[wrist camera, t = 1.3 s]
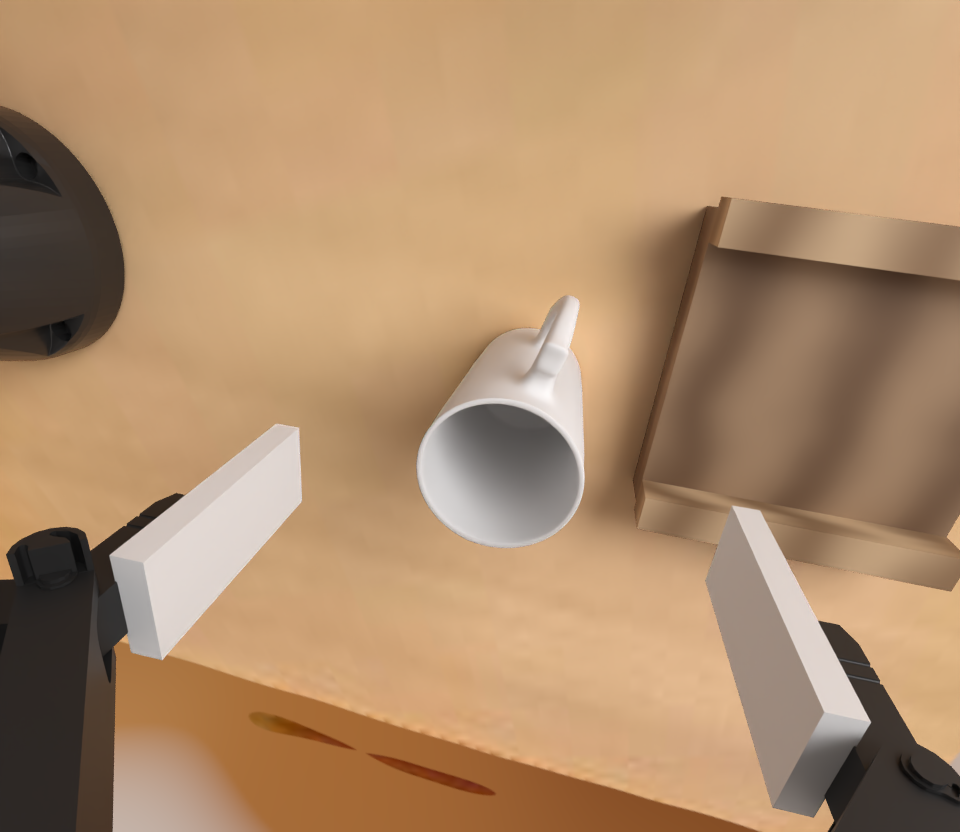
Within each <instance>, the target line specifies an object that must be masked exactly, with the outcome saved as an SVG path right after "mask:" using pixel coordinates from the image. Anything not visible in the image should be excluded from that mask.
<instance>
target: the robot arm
mask: <svg viewBox="0 0 960 832" xmlns="http://www.w3.org/2000/svg"><path fill="white" fill-rule="evenodd" d="M123 290H124V261H123V254H122V248H121V243H120V239H119V236H118V232H117V229H116V226H115V223H114V221H113V218H112V215H111V213H110V211H109V208H108V206H107V204H106V202H105V200H104V198H103V196H102V195H101V193H100V191H99V189H98V187H97V186H96V184H95V183H94V181H93V180H92V178H91V177H90V175H89V174H88V172H87V171H86V170H85V168H84V167H83V166H82V165H81V163H80V162H79V161H78V160H77V158H76V157H75V156H74V155H73V154H72V153H71V152H70V151H69V150H68V149H67V148H66V147H65V146H64V145H63V144H62V143H61V142H60V141H59V140H58V139H57V138H56V137H55V136H53V135H52V134H51V133H50V132H48V131H47V130H46V129H45V128H43V127H42V126H40V125H39V124H38V123H36V122H34V121H33V120H31V119H29V118H28V117H26V116H24V115H22V114H20V113H18V112H16V111H13V110H11V109H8V108H6V107H3V106H0V361H34V360H43V359H49V358H53V357H56V356H60V355H63V354H66V353H69V352H72V351H75V350H78V349H81V348H84V347H86V346H88V345H90V344H92V343H93V342H95V341H96V340H98V339H99V338H100V337H101V336H102V335H103V334H104V333H105V332H106V331H107V330H108V329H109V327H110V326H111V324H112V323H113V321H114V319H115V317H116V315H117V313H118V310H119V308H120V304H121V301H122V296H123ZM301 502H302V489H301V464H300V439H299V427H293V426H287V425H282V424H275V425H274V426H272V427H271V428H270V429H269V430H267V431H266V432H265V433H264V434H262V435H261V436H260V437H258V438H257V439H256V440H255V441H253V442H252V443H251V444H250V445H248V446H247V447H246V448H245V449H243V450H242V451H241V452H239V453H238V454H237V455H236V456H234V457H233V458H232V459H231V460H229V461H228V462H227V463H226V464H224V465H223V466H222V467H220V468H219V469H218V470H217V471H215V472H214V473H213V474H212V475H210V476H209V477H208V478H207V479H205V480H204V481H203V482H201V483H200V484H199V485H198V486H196V487H195V488H194V489H193V490H191V491H190V492H189V493H188V494H186V495H182V494H177V493H176V494H173V495H171V496H169V497H166V498H164V499H162V500H159V501H157V502H155V503H154V504H152V505H151V506H150V507H148V508H147V509H146V510H144V511H143V512H142V513H140V516H139V517H138V516H136V517H135V518H134V519H132V520H131V521H130V522H128V523H127V526H123V527H122V528H120V529H119V530H118V531H116V532H115V533H114V534H112V535H111V536H110V537H109V538H107V539H106V540H105V541H103V542H102V543H101V544H99V545H98V546H97V547H95V548H94V549H93V550H91V551H90V549H89V544H88V540H87V537H86V534H85V532H83V531H81V530H79V529H78V528H70V527H60V528H51V529H47V530H43V531H39V532H36V533H34V534H32V535H29V536H27V537H25V538H23V539H21V540H20V541H18V542H17V543H16V544H14V545H13V546H12V547H11V548H10V550H9V551H8V553H7V554H6V556H7V559H8V562H9V565H10V568H11V571H12V574H13V577H14V579H12V580H0V832H112V829H113V781H114V780H113V779H114V778H113V777H114V732H115V731H114V730H115V728H114V727H115V683H116V682H115V681H116V655H115V651H114V646H115V645H116V644H117V643H118V642H119V641H120V640H121V639H122V638H123V637H124V636H125V635H126V634H127V636H128V640H129V645H130V649H131V652H132V653H135V654H140V655H143V656H148V657H152V658H156V659H160V660H163V658H164V657H165V656H166V655H167V654H168V653H169V652H170V651H171V649H172V648H173V647H174V646H175V645H176V644H177V643H178V641H179V640H180V639H181V638H182V637H183V636H184V635H185V634H186V632H187V631H188V630H189V629H190V628H191V627H192V626H193V624H194V623H195V622H196V621H197V620H198V619H199V618H200V616H201V615H202V614H203V613H204V612H205V611H206V610H207V609H208V607H209V606H210V605H211V604H212V603H213V602H214V601H215V599H216V598H217V597H218V596H219V595H220V594H221V593H222V592H223V590H224V589H225V588H226V587H227V586H228V585H229V584H230V582H231V581H232V580H233V579H234V578H235V577H236V576H237V575H238V573H239V572H240V571H241V570H242V569H243V568H244V567H245V565H246V564H247V563H248V562H249V561H250V560H251V559H252V557H253V556H254V555H255V554H256V553H257V552H258V551H259V550H260V548H261V547H262V546H263V545H264V544H265V543H266V542H267V540H268V539H269V538H270V537H271V536H272V535H273V534H274V533H275V531H276V530H277V529H278V528H279V527H280V526H281V525H282V523H283V522H284V521H285V520H286V519H287V518H288V517H289V515H290V514H291V513H292V512H293V511H294V510H295V509H296V508H297V506H298V505H299V504H300V503H301ZM705 581H706V585H707V588H708V591H709V595H710V598H711V602H712V605H713V608H714V612H715V615H716V618H717V622H718V625H719V629H720V632H721V635H722V639H723V642H724V645H725V649H726V652H727V656H728V659H729V662H730V666H731V669H732V672H733V676H734V679H735V683H736V686H737V689H738V693H739V696H740V699H741V703H742V706H743V709H744V713H745V716H746V720H747V723H748V726H749V730H750V733H751V736H752V740H753V743H754V747H755V750H756V753H757V757H758V760H759V763H760V767H761V770H762V774H763V777H764V780H765V784H766V787H767V790H768V794H769V797H770V801H771V804H772V807H773V808H776V809H781V810H785V811H789V812H793V813H797V814H801V815H805V816H810V817H814V816H815V815H816V813H817V811H818V810H819V808H820V806H821V805H822V803H823V801H824V800H825V798H826V801H827V803H828V806H829V809H830V811H831V814H832V816H833V819H834V822H833V824H832V826H831V827H830V829H829V830H828V832H960V776H959V775H958V774H957V773H956V772H955V770H954V769H953V768H952V767H951V766H950V765H949V764H947V763H946V762H945V761H944V760H942V759H941V758H940V757H939V756H937V755H936V754H935V753H933V752H931V751H929V750H928V749H926V748H924V747H922V746H920V745H919V744H917V743H916V741H915V739H914V738H913V736H912V734H911V733H910V731H909V729H908V727H907V726H906V724H905V722H904V721H903V719H902V717H901V716H900V714H899V712H898V710H897V709H896V707H895V705H894V704H893V702H892V700H891V698H890V697H889V695H888V693H887V692H886V690H885V688H884V686H883V685H881V684H880V680H879V678H878V676H877V675H876V673H875V671H874V669H873V668H870V663H869V661H868V659H867V657H866V656H865V654H864V652H863V651H862V649H861V647H860V646H859V644H858V643H857V642H856V641H855V640H854V639H853V638H852V637H851V636H850V635H849V634H848V633H847V632H846V631H845V630H844V629H843V628H842V627H841V626H840V625H837V624H832V623H827V622H822V621H818V620H817V618H816V616H815V614H814V613H813V611H812V609H811V607H810V605H809V603H808V601H807V599H806V597H805V595H804V593H803V592H802V590H801V588H800V586H799V584H798V582H797V580H796V578H795V576H794V574H793V572H792V571H791V569H790V567H789V565H788V563H787V561H786V559H785V557H784V555H783V553H782V551H781V550H780V548H779V546H778V544H777V542H776V540H775V538H774V536H773V534H772V532H771V531H770V529H769V527H768V525H767V523H766V521H765V519H764V517H763V515H762V513H761V511H760V510H755V509H749V508H744V507H738V506H733V505H732V507H731V510H730V512H729V515H728V518H727V521H726V524H725V527H724V529H723V532H722V535H721V538H720V541H719V543H718V546H717V549H716V552H715V555H714V558H713V560H712V563H711V566H710V569H709V572H708V574H707V577H706V580H705Z"/></svg>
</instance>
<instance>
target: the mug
mask: <svg viewBox="0 0 960 832" xmlns="http://www.w3.org/2000/svg"><path fill="white" fill-rule="evenodd" d="M578 311H579V301H578V299H577V298H575V297H573V296H570V295H566V296H564V297H562V298H560V299H559V300H558V301H557V302H556V303H555V304H554V305H553V306H552V307H551V309H550V310H549V312H548V314H547V317H546V319H545V321H544V323H543V325H542V328H541V330H540V329H535V328H520V329H514V330H511V331H508V332H505V333H503V334H501V335H500V336H498V337H497V338H495V339H494V340H493V341H492V342H491V343H490V344H489V345H488V346H487V347H486V348H485V350H484V351H483V352H482V354H481V355H480V356H479V358H478V359H477V360H476V361H475V362H474V364H473V365H472V367H471V368H470V370H469V371H468V373H467V374H466V375H465V377H464V378H463V380H462V381H461V382H460V384H459V385H458V387H457V388H456V389H455V391H454V392H453V394H452V395H451V396H450V398H449V399H448V401H447V402H446V403H445V405H444V406H443V408H442V409H441V410H440V412H439V413H438V415H437V417H436V418H435V420H434V421H433V423H432V425H431V426H430V428H429V429H428V430H427V432H426V434H425V435H424V437H423V439H422V442H421V444H420V447H419V450H418V455H417V464H416V470H417V479H418V484H419V487H420V490H421V493H422V495H423V497H424V500H425V501H426V503H427V505H428V506H429V508H430V509H431V511H432V512H433V513H434V515H435V516H436V517H437V518H438V519H439V520H440V521H441V522H442V523H443V524H444V525H445V526H446V527H448V528H449V529H450V530H452V531H453V532H454V533H456V534H458V535H459V536H461V537H463V538H465V539H467V540H469V541H472V542H474V543H477V544H481V545H485V546H490V547H497V548H517V547H523V546H528V545H532V544H535V543H538V542H540V541H543V540H545V539H547V538H549V537H551V536H552V535H554V534H555V533H557V532H558V531H559V530H560V529H562V528H563V527H564V526H565V525H566V524H567V523H568V522H569V520H570V519H571V518H572V516H573V515H574V513H575V512H576V510H577V508H578V506H579V504H580V501H581V498H582V495H583V490H584V434H583V407H582V384H581V372H580V367H579V364H578V361H577V359H576V357H575V355H574V353H573V352H572V350H571V349H570V348H569V347H570V344H571V340H572V337H573V333H574V329H575V325H576V320H577V316H578Z"/></svg>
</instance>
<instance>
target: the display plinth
mask: <svg viewBox="0 0 960 832" xmlns="http://www.w3.org/2000/svg"><path fill="white" fill-rule="evenodd" d="M633 483H634V490H635V497H636V504H635V508H634V511H635V518H636V525H637V529H641V530H646V531H651V532H656V533H661V534H666V535H671V536H676V537H681V538H686V539H691V540H696V541H701V542H706V543H711V544H716V545H718V543H719V541H720V538H721V535H722V532H723V529H724V527H725V524H726V521H727V518H728V515H729V512H730V510H731V507H732V505H733V506H738V507H744V508H749V509H755V510H760V511H761V513H762V515H763V517H764V519H765V521H766V523H767V525H768V527H769V529H770V531H771V532H772V534H773V536H774V538H775V540H776V542H777V544H778V546H779V548H780V550H781V551H782V553H783V555H784V557H785V558H786V559H791V560H796V561H801V562H806V563H811V564H816V565H821V566H826V567H831V568H836V569H841V570H846V571H851V572H856V573H861V574H866V575H871V576H876V577H881V578H886V579H891V580H896V581H901V582H906V583H911V584H916V585H921V586H926V587H931V588H936V589H941V590H946V591H952V589H953V588H954V586H955V585H956V583H957V581H958V580H959V578H960V550H959V549H958V548H957V547H956V546H955V545H954V544H953V543H952V542H951V541H950V540H949V539H948V538H947V535H948V533H949V532H950V530H951V528H952V527H953V525H954V523H955V521H956V520H957V518H958V516H959V514H960V227H957V226H949V225H941V224H934V223H926V222H918V221H910V220H902V219H894V218H886V217H878V216H870V215H862V214H855V213H847V212H839V211H831V210H823V209H815V208H807V207H799V206H791V205H783V204H776V203H768V202H760V201H752V200H744V199H736V198H728V197H721V200H720V204H719V207H711V206H707V209H706V213H705V217H704V220H703V224H702V228H701V231H700V235H699V239H698V242H697V246H696V250H695V253H694V257H693V261H692V265H691V268H690V272H689V276H688V279H687V283H686V287H685V290H684V294H683V298H682V301H681V305H680V309H679V312H678V316H677V320H676V324H675V327H674V331H673V335H672V338H671V342H670V346H669V349H668V353H667V357H666V360H665V364H664V368H663V371H662V375H661V379H660V382H659V386H658V390H657V394H656V397H655V401H654V405H653V408H652V412H651V416H650V419H649V423H648V427H647V430H646V434H645V438H644V441H643V445H642V449H641V453H640V456H639V460H638V464H637V467H636V471H635V475H634V478H633Z"/></svg>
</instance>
